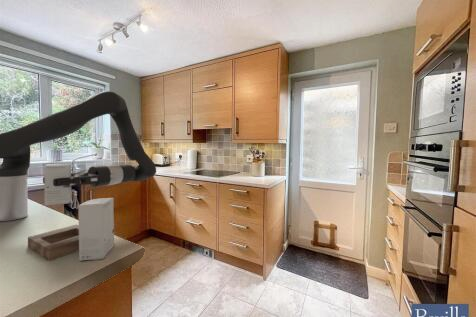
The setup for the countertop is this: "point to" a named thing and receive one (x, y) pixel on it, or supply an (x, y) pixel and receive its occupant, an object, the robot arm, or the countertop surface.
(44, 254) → the socket block
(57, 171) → the skincare box
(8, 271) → the countertop surface
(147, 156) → the robot arm
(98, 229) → the skincare box
